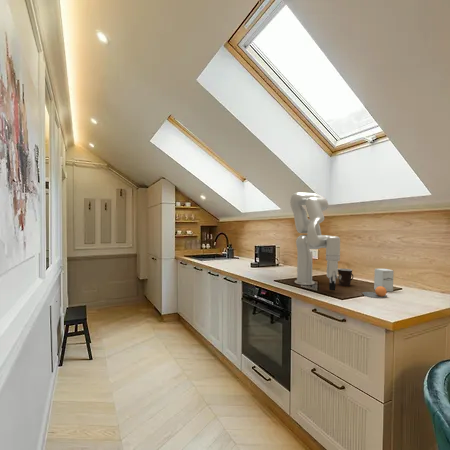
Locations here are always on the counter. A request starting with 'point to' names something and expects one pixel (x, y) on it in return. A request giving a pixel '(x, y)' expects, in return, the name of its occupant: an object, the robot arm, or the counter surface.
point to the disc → (373, 295)
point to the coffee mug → (345, 277)
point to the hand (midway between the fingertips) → (332, 289)
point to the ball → (381, 291)
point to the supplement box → (384, 279)
